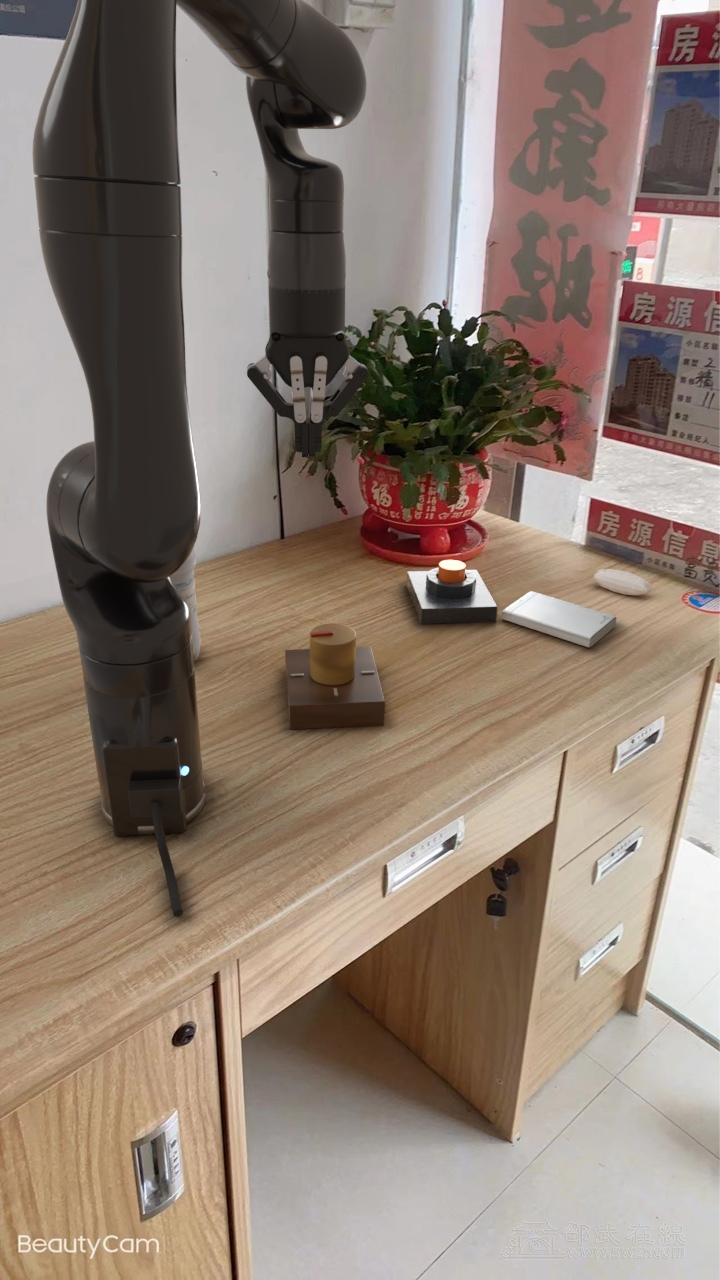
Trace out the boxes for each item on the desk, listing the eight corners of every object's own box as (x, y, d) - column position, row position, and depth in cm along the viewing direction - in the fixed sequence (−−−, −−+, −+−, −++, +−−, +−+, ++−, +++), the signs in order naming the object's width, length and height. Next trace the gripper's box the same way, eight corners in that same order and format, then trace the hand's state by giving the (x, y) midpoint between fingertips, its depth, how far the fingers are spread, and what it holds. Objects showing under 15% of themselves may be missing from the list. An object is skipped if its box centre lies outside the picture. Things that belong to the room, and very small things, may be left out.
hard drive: (617, 615, 115) (532, 588, 121) (590, 638, 109) (502, 608, 115) (615, 626, 115) (530, 599, 122) (588, 649, 110) (501, 620, 116)
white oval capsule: (597, 580, 128) (600, 562, 127) (651, 595, 124) (654, 577, 123) (588, 587, 126) (591, 569, 125) (643, 602, 122) (646, 584, 121)
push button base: (495, 621, 116) (498, 594, 114) (420, 624, 115) (422, 596, 113) (475, 583, 126) (477, 557, 124) (406, 585, 125) (407, 559, 123)
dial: (349, 660, 100) (350, 618, 97) (360, 682, 96) (361, 639, 93) (305, 665, 99) (305, 623, 96) (315, 688, 94) (315, 644, 92)
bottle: (191, 676, 102) (178, 512, 92) (137, 669, 103) (118, 506, 93) (211, 649, 108) (200, 492, 98) (159, 643, 109) (144, 487, 99)
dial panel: (384, 725, 94) (385, 700, 92) (289, 729, 93) (289, 704, 91) (370, 668, 104) (371, 645, 103) (285, 672, 103) (285, 648, 102)
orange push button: (467, 584, 117) (468, 569, 116) (440, 584, 117) (441, 570, 116) (461, 573, 121) (462, 559, 120) (435, 573, 120) (436, 559, 119)
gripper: (238, 285, 82) (245, 466, 90) (379, 287, 84) (373, 465, 92) (238, 276, 89) (245, 446, 97) (369, 278, 90) (365, 445, 98)
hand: (308, 455), depth 94 cm, fingers closed
